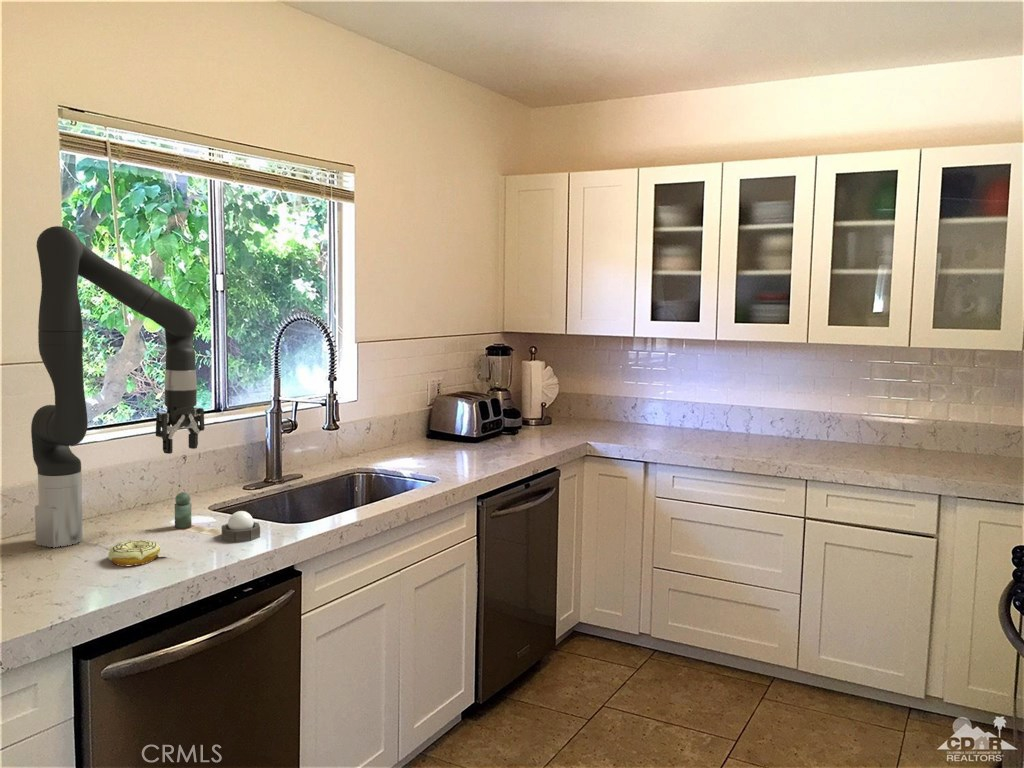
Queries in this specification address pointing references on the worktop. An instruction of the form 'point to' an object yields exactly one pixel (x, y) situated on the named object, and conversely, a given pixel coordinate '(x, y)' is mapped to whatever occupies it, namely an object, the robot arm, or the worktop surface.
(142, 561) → the decorated donut
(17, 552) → the worktop surface
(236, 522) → the white ball
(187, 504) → the pawn
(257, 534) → the game board
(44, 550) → the worktop surface
